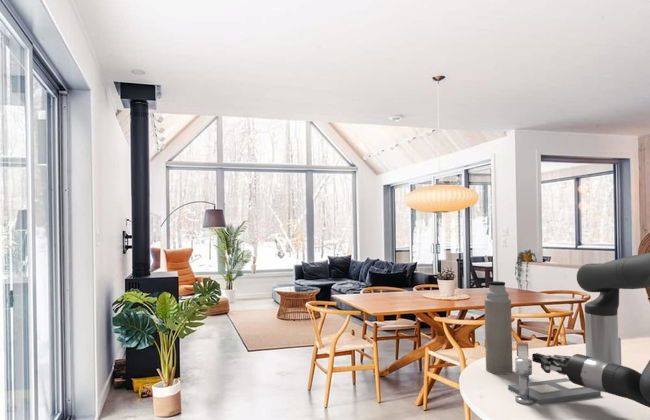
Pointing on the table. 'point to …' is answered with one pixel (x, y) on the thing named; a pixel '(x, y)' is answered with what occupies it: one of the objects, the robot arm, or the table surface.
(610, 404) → the table surface
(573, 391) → the label tray
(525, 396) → the post
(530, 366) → the swing arm
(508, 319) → the thermos bottle
